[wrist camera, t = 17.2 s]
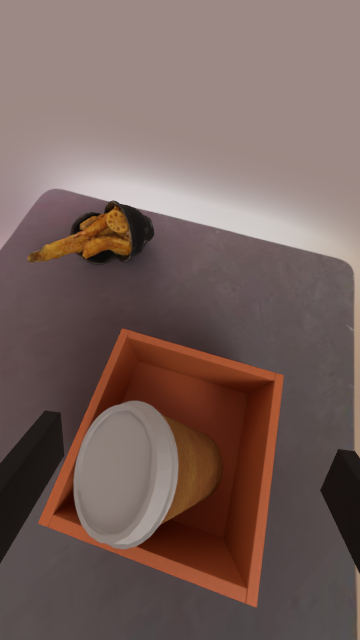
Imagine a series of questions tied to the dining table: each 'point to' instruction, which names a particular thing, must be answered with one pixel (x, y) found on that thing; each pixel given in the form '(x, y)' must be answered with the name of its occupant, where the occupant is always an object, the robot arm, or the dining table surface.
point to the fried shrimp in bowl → (102, 236)
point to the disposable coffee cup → (140, 473)
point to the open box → (235, 446)
